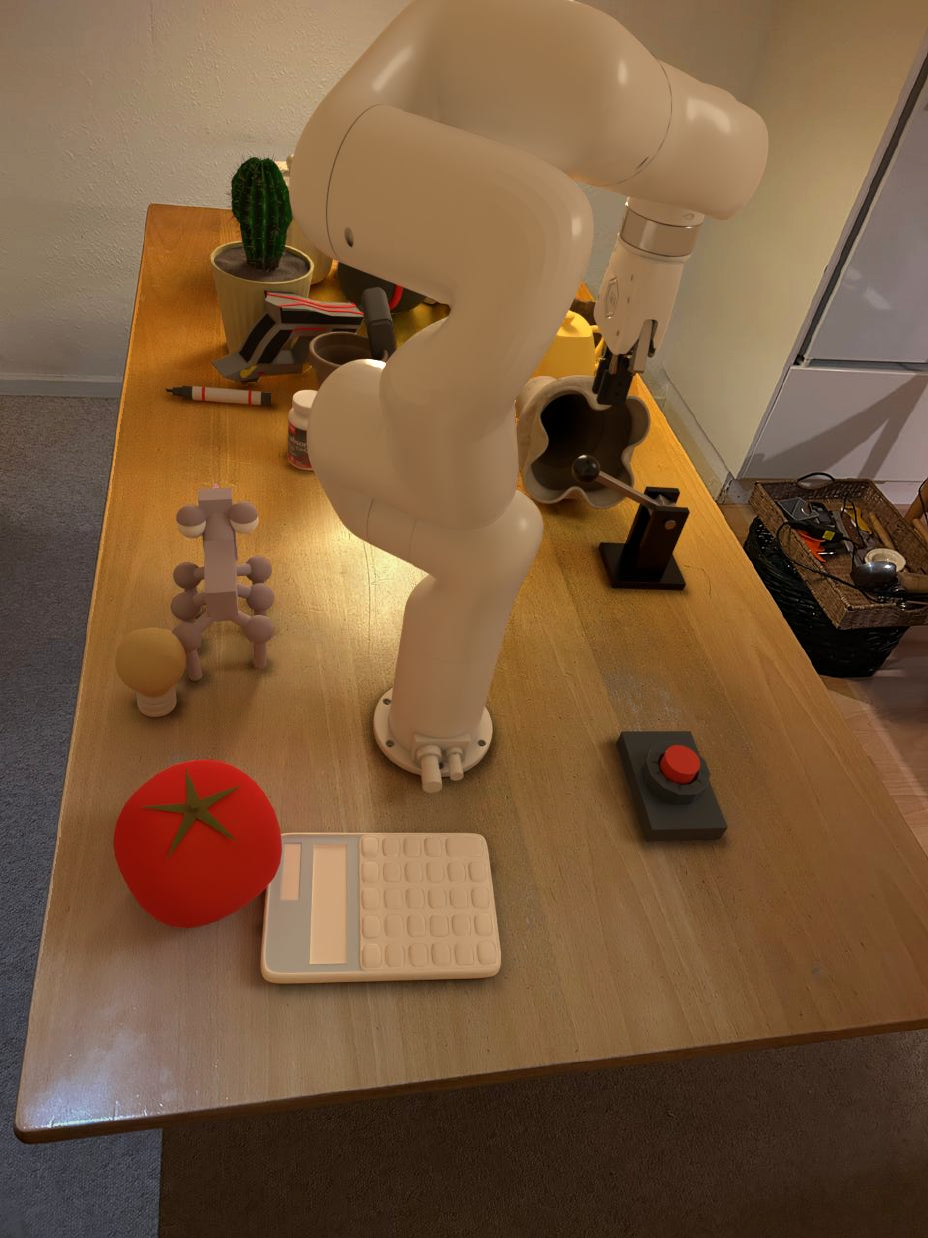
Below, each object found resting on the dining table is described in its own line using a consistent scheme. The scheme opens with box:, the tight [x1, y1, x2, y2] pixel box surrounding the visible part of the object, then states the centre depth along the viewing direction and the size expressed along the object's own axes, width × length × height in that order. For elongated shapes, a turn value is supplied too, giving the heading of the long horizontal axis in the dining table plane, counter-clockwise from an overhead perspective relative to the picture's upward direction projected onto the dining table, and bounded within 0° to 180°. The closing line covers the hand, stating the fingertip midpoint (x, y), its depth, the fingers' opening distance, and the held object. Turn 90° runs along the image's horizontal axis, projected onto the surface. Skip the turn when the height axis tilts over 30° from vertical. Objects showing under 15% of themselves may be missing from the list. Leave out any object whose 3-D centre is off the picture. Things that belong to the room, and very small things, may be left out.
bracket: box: [597, 485, 691, 591], centre depth 111 cm, size 10×8×12 cm
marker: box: [164, 385, 273, 407], centre depth 127 cm, size 15×2×2 cm, turn 96°
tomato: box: [112, 758, 282, 930], centre depth 71 cm, size 13×14×12 cm
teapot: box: [529, 311, 604, 380], centre depth 143 cm, size 14×20×13 cm
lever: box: [572, 455, 678, 515], centre depth 105 cm, size 16×3×3 cm, turn 97°
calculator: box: [260, 832, 502, 984], centre depth 75 cm, size 13×20×2 cm, turn 95°
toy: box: [336, 262, 427, 315], centre depth 152 cm, size 20×16×20 cm
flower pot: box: [309, 332, 388, 389], centre depth 128 cm, size 12×11×10 cm
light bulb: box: [114, 626, 187, 718], centre depth 84 cm, size 6×6×10 cm
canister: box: [274, 153, 334, 286], centre depth 155 cm, size 18×18×21 cm
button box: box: [615, 730, 728, 842], centre depth 88 cm, size 12×8×4 cm, turn 7°
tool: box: [211, 290, 365, 387], centre depth 133 cm, size 5×25×15 cm, turn 137°
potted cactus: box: [209, 154, 314, 354], centre depth 130 cm, size 15×15×30 cm
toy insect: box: [170, 482, 275, 682], centre depth 93 cm, size 20×11×14 cm, turn 12°
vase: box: [515, 375, 652, 510], centre depth 125 cm, size 22×22×28 cm
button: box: [660, 745, 700, 784], centre depth 86 cm, size 4×4×2 cm
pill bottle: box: [286, 389, 318, 471], centre depth 118 cm, size 6×6×10 cm
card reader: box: [361, 287, 397, 361], centre depth 131 cm, size 9×4×15 cm, turn 12°
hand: (607, 397), depth 96 cm, fingers closed
